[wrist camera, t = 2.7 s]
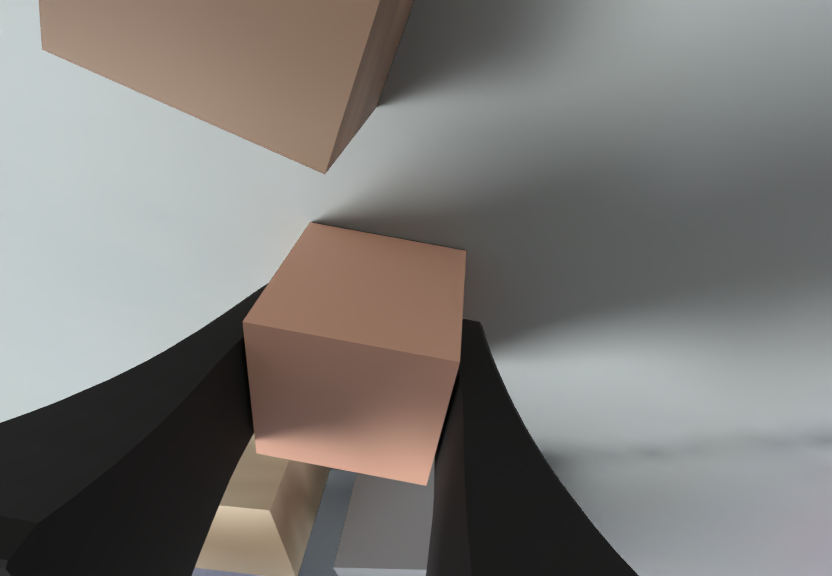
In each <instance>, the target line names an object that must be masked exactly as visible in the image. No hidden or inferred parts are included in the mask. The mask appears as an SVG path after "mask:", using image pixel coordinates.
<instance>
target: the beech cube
mask: <svg viewBox="0 0 832 576" xmlns="http://www.w3.org/2000/svg"><path fill="white" fill-rule="evenodd" d="M329 471H330V468H329V467H325V466H320V465H315V464H310V463H304V462H299V461H294V460H289V459H283V458H278V457H273V456H268V455H263V454H257V453H256V445H255V435H254V434H253V436H252V438H251V440H250V441H249V443H248V445H247V447H246V449H245V451H244V453H243V454H242V456H241V458H240V460H239V462H238V464H237V466H236V468H235V470H234V472H233V474H232V476H231V479H230V481H229V483H228V486H227V488H226V491H225V493H224V495H223V498H222V500H221V503H220V505H219V507H218V510H217V512H216V515H215V517H214V520H213V522H212V525H211V527H210V530H209V532H208V535H207V537H206V540H205V542H204V545H203V547H202V550H201V552H200V555H199V557H198V560H197V563H196V565H195V568H201V569H210V570H219V571H227V572H236V573H245V574H254V575H262V576H298V574H299V571H300V567H301V564H302V561H303V558H304V554H305V551H306V548H307V544H308V541H309V538H310V534H311V531H312V528H313V524H314V521H315V518H316V514H317V511H318V508H319V505H320V501H321V498H322V495H323V491H324V488H325V485H326V481H327V478H328V475H329Z"/></svg>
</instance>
